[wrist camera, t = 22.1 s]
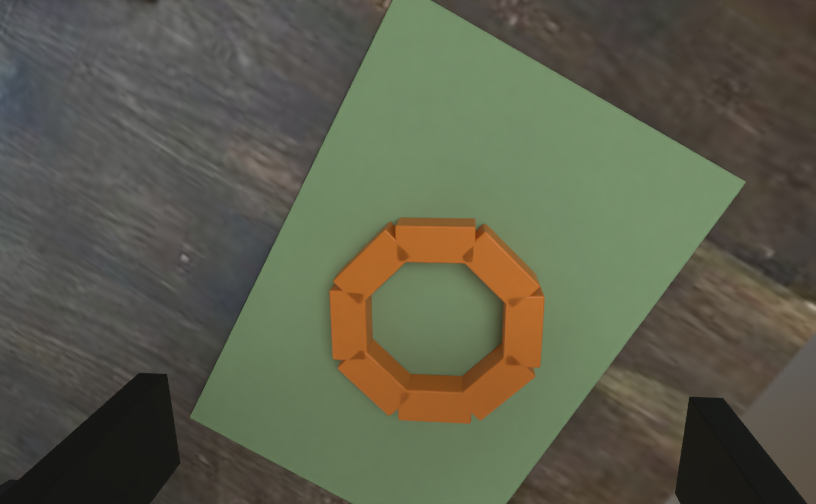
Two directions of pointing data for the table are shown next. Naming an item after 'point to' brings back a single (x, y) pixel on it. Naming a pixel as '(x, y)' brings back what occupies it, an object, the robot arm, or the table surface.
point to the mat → (455, 282)
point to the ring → (437, 392)
